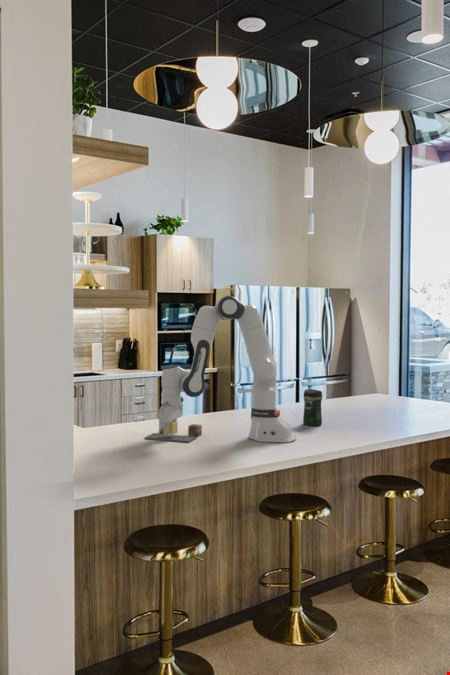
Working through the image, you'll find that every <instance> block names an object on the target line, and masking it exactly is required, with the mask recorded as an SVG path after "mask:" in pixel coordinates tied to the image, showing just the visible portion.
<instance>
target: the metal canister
mask: <svg viewBox="0 0 450 675" xmlns="http://www.w3.org/2000/svg"><path fill="white" fill-rule="evenodd" d="M159 433H160V434H163V423H159V422H158V434H159Z"/></svg>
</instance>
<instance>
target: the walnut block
mask: <svg viewBox="0 0 450 675" xmlns="http://www.w3.org/2000/svg"><path fill="white" fill-rule="evenodd" d="M187 427H188V428H187V429H188V431H187V433H188V435H187V436H193V437H197V438H199V437H201V436H202V434H203V432H202V431H203V430H202V429H203V428H202V427H203V426H202V424H195V423H192V424H190V425H188V426H187Z"/></svg>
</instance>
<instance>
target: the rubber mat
mask: <svg viewBox="0 0 450 675" xmlns="http://www.w3.org/2000/svg"><path fill="white" fill-rule="evenodd" d="M197 438H198V437H193V436H188V435H178V434H174V435H171V434H159V433H154V432H153V433H151V434H149V435H147V436H145V437H144V440H150V441H151V440H152V441H161V442H174V443H184V444H185V443H186V444H189V443H191V442H193V441H194V440H196V439H197Z"/></svg>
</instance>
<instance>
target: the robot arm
mask: <svg viewBox="0 0 450 675" xmlns="http://www.w3.org/2000/svg"><path fill="white" fill-rule="evenodd" d="M231 320H235V321H237V323H238V325H239V328H240V331H241V334H242V337H243V342H244V344H245V348H246V352H247V355H248V360H249V364H250V368H251V371H252V376H253V381H252V397H251V398H252V400H251V401H252V404H251V411H250V417H251V418H250V419H251V422H250V429H249V434H248V439H250V440H254V441H256V442H262V443H264V442H266V443H292V441H293V442H294V440H295V441H296V440H297V436H296V435H295V434H293V433H292V427H291V425H290V423H288V422H287V421H286V420H285V419H283V418H282V417H281V416H280V414H281V413H280V412H281V409H278V408H277V404H276V403H277V372H278V371H277V369H278V368H277V367H278V366H277V362H276V359H275V358H274V356H273V352H272V349H271V345H270V341H269V337H268V334H267V330H266V327H265V324H264V322H263V319H262V316H261V313H260V312H259V310H258V308H257V307H256V305H253V304H246V305H244V304H243V303H242V302H241V301H240V300H239V299H238V298H237V297H235V296H233V295H224V296H222V297H221V298H220V299H219V300H218V301H217V302H216V304H215V305H214V306H211V305H203V306H200V308H199V310H198V312H197V314H196V316H195V318H194V321H193V325H192V328H191V333H190V342H191V344H192V348H193V351H194V352H193V360H192V364H191V368H190V371H188V370H186V369H184V368H182V367H181V366H179V365H177V364H173V365H168V366H166V367H164V368H163V369H162V373H161V389H162V390H161V393H160V396H161V399H160V400H161V401H160V404H161V406H160V407H159V411H158V424H159V423H164V425H165V431H170V427H169V424H170V421H171V422H177V423H178V420H177V419H180V418H181V417H183V416H182V415H183V412H184V411H183V407H184V406H183V405H184V404H183V402H184V401H185V400H184V399H185V398H184V397H183V396H181V393H183V392H184V393H185V395H186V396H188V397H191V398H197V397H199V396H202V395H203V393H204V391H205V388H206V381H205V373H206V367H207V363H208V358H209V355H210V352H211V351H210V350H211V347H212V345H213V342H214V338H215V336H216V332H217V329H218V326H219V323H220V322H221V321H231Z"/></svg>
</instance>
